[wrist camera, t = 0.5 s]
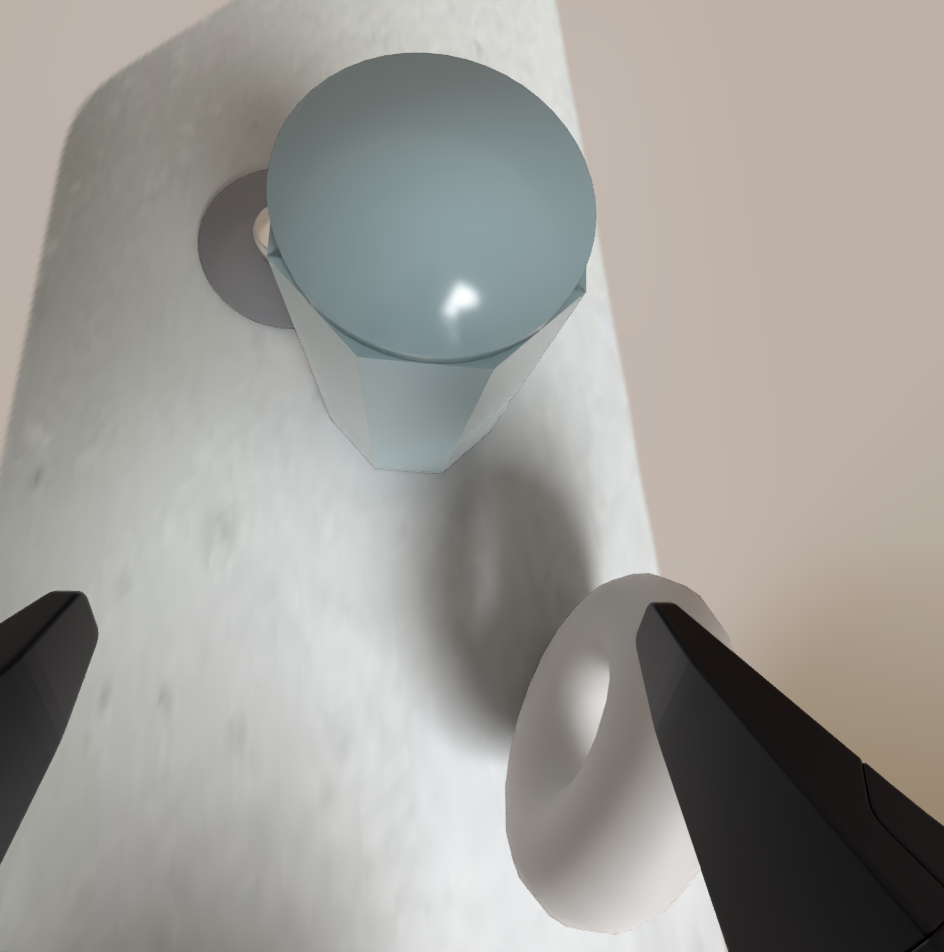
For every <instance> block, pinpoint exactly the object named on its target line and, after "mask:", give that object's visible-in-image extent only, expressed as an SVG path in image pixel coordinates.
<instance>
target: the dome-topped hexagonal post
mask: <svg viewBox="0 0 944 952" xmlns="http://www.w3.org/2000/svg"><path fill="white" fill-rule="evenodd" d="M266 196H267V205H268V214H269V218H270V231H269V239H268V248H267V259H268V262H269V264H270V267H271V269H272V272H273V274H274V277H275V279H276V282H277V284H278V287H279V289H280V292H281V294H282V297H283V299H284V302H285V305H286V307H287V310H288V312H289V315H290V317H291V320H292V322H293V325H294V327H295V330H296V332H297V335H298V337H299V340H300V343H301V345H302V348H303V350H304V353H305V355H306V358H307V360H308V363H309V365H310V368H311V370H312V373H313V375H314V378H315V381H316V383H317V386H318V388H319V391H320V393H321V396H322V398H323V401H324V403H325V406H326V408H327V411H328V413H329V416H330V418H331V420H332V421H333V423H334V424H335V425H336V426H337V427H338V428H339V429H340V430H341V431H342V433H343V434H344V435H345V436H346V437H347V438H348V439H349V440H350V442H351V443H352V444H353V445H354V446H355V447H356V448H357V449H358V450H359V452H360V453H361V454H362V455H363V456H364V457H365V458H366V459H367V461H368V462H369V463H370V464H371V465H372V466H373V467H374V468H375V469H381V470H396V471H411V472H426V473H441V474H442V473H443V472H444V471H445V470H446V469H448V468H449V467H450V466H451V465H452V464H453V463H454V462H456V461H457V460H458V459H459V458H460V457H461V456H462V455H464V454H465V453H466V452H467V451H468V450H469V449H470V448H472V447H473V446H474V445H475V444H476V443H477V442H478V441H480V440H481V439H482V438H483V437H484V436H485V435H486V434H488V433H489V432H490V430H491V429H492V427H493V426H494V425H495V423H496V422H497V420H498V419H499V417H500V416H501V414H502V413H503V412H504V410H505V409H506V407H507V406H508V404H509V403H510V401H511V400H512V398H513V397H514V396H515V394H516V393H517V391H518V390H519V388H520V387H521V385H522V384H523V383H524V381H525V380H526V378H527V377H528V375H529V374H530V372H531V371H532V369H533V368H534V367H535V365H536V364H537V362H538V361H539V359H540V358H541V356H542V355H543V354H544V352H545V351H546V349H547V348H548V346H549V345H550V343H551V342H552V340H553V339H554V338H555V336H556V335H557V333H558V332H559V330H560V329H561V327H562V326H563V325H564V323H565V322H566V320H567V319H568V317H569V316H570V314H571V313H572V311H573V310H574V309H575V307H576V306H577V304H578V303H579V301H580V300H581V298H582V297H583V296H584V294H585V293H586V265H587V262H588V260H589V257H590V254H591V251H592V246H593V242H594V237H595V228H596V203H595V195H594V189H593V184H592V179H591V176H590V173H589V170H588V167H587V164H586V162H585V159H584V157H583V155H582V153H581V151H580V149H579V147H578V145H577V143H576V141H575V140H574V138H573V137H572V135H571V134H570V132H569V131H568V129H567V128H566V126H565V125H564V124H563V123H562V121H561V120H560V119H559V118H558V117H557V115H556V114H555V113H554V112H553V111H552V110H551V109H550V108H549V107H548V106H547V105H546V104H545V103H544V102H543V101H542V100H541V99H540V98H539V97H537V96H536V95H535V94H533V93H532V92H531V91H529V90H528V89H527V88H525V87H524V86H523V85H521V84H520V83H518V82H516V81H515V80H513V79H511V78H510V77H508V76H506V75H505V74H502V73H500V72H498V71H496V70H494V69H492V68H489V67H487V66H485V65H482V64H479V63H476V62H473V61H470V60H467V59H462V58H458V57H453V56H449V55H442V54H432V53H401V54H393V55H385V56H381V57H377V58H373V59H369V60H365V61H362V62H360V63H357V64H355V65H352V66H350V67H347V68H345V69H343V70H341V71H340V72H338V73H336V74H334V75H332V76H330V77H329V78H327V79H326V80H325V81H323V82H322V83H321V84H319V85H318V86H316V87H315V88H314V89H313V90H312V91H311V92H309V93H308V94H307V95H306V96H305V97H304V98H303V99H302V100H301V101H300V102H299V103H298V105H297V106H296V107H295V109H294V110H293V111H292V113H291V114H290V115H289V117H288V118H287V120H286V121H285V123H284V125H283V127H282V129H281V131H280V132H279V134H278V136H277V139H276V142H275V145H274V147H273V150H272V153H271V157H270V162H269V167H268V172H267V190H266Z"/></svg>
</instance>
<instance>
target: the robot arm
mask: <svg viewBox="0 0 944 952" xmlns="http://www.w3.org/2000/svg"><path fill="white" fill-rule="evenodd" d="M97 641H98V627H97V624H96V621H95V618H94V615H93V612H92V609H91V607H90V604H89V601H88V598H87V596H86V595H85V594H84V593H83V592H80V591H53V592H50V593H48V594H46V595H44V596H43V597H41V598H40V599H38V600H37V601H35V602H33V603H32V604H30V605H29V606H27V607H25V608H24V609H22V610H21V611H19V612H17V613H16V614H14V615H13V616H11V617H10V618H8V619H6V620H5V621H3V622H2V623H0V864H1V862H2V860H3V858H4V856H5V854H6V852H7V850H8V848H9V846H10V844H11V842H12V840H13V838H14V836H15V834H16V832H17V830H18V828H19V826H20V824H21V822H22V820H23V818H24V816H25V814H26V812H27V810H28V808H29V806H30V803H31V801H32V799H33V797H34V795H35V793H36V791H37V789H38V787H39V785H40V783H41V781H42V779H43V777H44V775H45V773H46V771H47V769H48V767H49V765H50V763H51V761H52V759H53V757H54V755H55V752H56V750H57V748H58V746H59V744H60V742H61V739H62V737H63V734H64V732H65V729H66V727H67V724H68V722H69V719H70V716H71V713H72V711H73V708H74V705H75V702H76V700H77V697H78V694H79V691H80V689H81V686H82V683H83V680H84V678H85V675H86V672H87V669H88V667H89V664H90V661H91V658H92V656H93V653H94V650H95V647H96V644H97ZM636 650H637V654H638V659H639V663H640V668H641V672H642V677H643V681H644V686H645V690H646V695H647V699H648V704H649V709H650V713H651V718H652V722H653V726H654V730H655V733H656V737H657V740H658V743H659V746H660V749H661V752H662V755H663V758H664V761H665V764H666V767H667V770H668V773H669V776H670V779H671V782H672V785H673V788H674V791H675V794H676V797H677V800H678V803H679V806H680V809H681V812H682V815H683V818H684V821H685V824H686V827H687V830H688V833H689V836H690V839H691V842H692V845H693V848H694V851H695V854H696V857H697V860H698V862H699V865H700V868H701V871H702V874H703V877H704V880H705V883H706V886H707V889H708V892H709V895H710V898H711V901H712V904H713V907H714V910H715V913H716V916H717V919H718V922H719V925H720V928H721V931H722V934H723V937H724V940H725V943H726V946H727V949H728V952H944V826H943V825H942V824H940V823H939V822H938V821H937V820H935V819H934V818H933V817H931V816H930V815H929V814H927V813H926V812H925V811H924V810H923V809H921V808H920V807H919V806H918V805H916V804H915V803H914V802H912V801H911V800H910V799H909V798H908V797H906V796H905V795H904V794H903V793H902V792H900V791H899V790H898V789H897V788H895V787H894V786H893V785H892V784H890V783H889V782H888V781H887V780H886V779H884V778H883V777H882V776H881V775H880V774H878V773H877V772H876V771H875V770H874V769H873V768H871V767H870V766H869V765H868V764H866V763H862V761H861V759H860V758H859V757H858V756H857V755H856V754H854V753H853V752H852V751H851V750H849V749H848V748H847V747H846V746H845V745H844V744H842V743H841V742H840V741H839V740H838V739H837V738H835V737H834V736H833V735H832V734H831V733H829V732H828V731H827V730H826V729H825V728H823V727H822V726H821V725H820V724H819V723H817V722H816V721H815V720H814V719H813V718H811V717H810V716H809V715H808V714H807V713H805V712H804V711H803V710H802V709H801V708H800V707H798V706H797V705H796V704H795V703H794V702H792V701H791V700H790V699H789V698H788V697H786V696H785V695H784V694H783V693H782V692H780V691H779V690H778V689H777V688H776V687H774V686H773V685H772V684H771V683H770V682H769V681H767V680H766V679H765V678H764V677H763V676H761V675H760V674H759V673H758V672H757V671H755V670H754V669H753V668H752V667H750V666H749V665H748V664H747V663H746V662H745V661H743V660H742V659H741V658H740V657H739V656H738V655H736V654H735V653H734V652H733V651H732V650H730V649H729V648H728V647H727V646H726V645H724V644H723V643H722V642H721V641H720V640H718V639H717V638H716V637H715V636H714V635H712V634H711V633H710V632H709V631H708V630H707V629H705V628H704V627H703V626H702V625H701V624H699V623H698V622H697V621H696V620H695V619H693V618H692V617H691V616H690V615H689V614H687V613H686V612H685V611H684V610H683V609H681V608H680V607H679V606H678V605H676V604H675V603H672V602H651V603H650V604H649V605H648V606H647V608H646V610H645V613H644V615H643V618H642V621H641V623H640V626H639V628H638V631H637V634H636Z"/></svg>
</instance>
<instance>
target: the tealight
mask: <svg viewBox="0 0 944 952" xmlns="http://www.w3.org/2000/svg"><path fill="white" fill-rule="evenodd" d="M269 231H270V218H269V214H268V207H266V208H265V209H263V210H262V211H261V212H260V214H259V215H258V217H257V218H256V220H255V223H254V226H253V236H254V240H255V242H256V245H257V247H258V250H259V252H260V254H261V256H262V258H263V259H264V261H265V262H266V263H267V264H269V262H268V259H267V248H268V239H269ZM269 265H270V264H269Z"/></svg>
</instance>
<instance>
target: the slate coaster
mask: <svg viewBox="0 0 944 952" xmlns="http://www.w3.org/2000/svg"><path fill="white" fill-rule="evenodd" d="M267 172H268V169H267V170H262V171H258V172H255V173H252V174H249V175H247V176H244V177H242V178H240V179H238V180H237V181H235V182H234V183H232V184H230V185H229V186H228V187H227V188H225V189H224V190H223V191H222V192H221V193H220V194H219V195H218V196H217V197H216V198H215V199H214V201H213V202H212V203H211V205H210V207H209V208H208V210H207V212H206V214H205V216H204V218H203V221H202V224H201V227H200V233H199V255H200V261H201V264H202V267H203V270H204V273H205V275H206V277H207V279H208V281H209V282H210V284H211V285H212V287H213V288H214V290H215V291H216V293H217V294H218V295H219V296H220V297H221V299H222V300H223V301H224V302H225V303H226V304H228V305H229V306H230V307H231V308H232V309H233V310H235V311H236V312H238V313H239V314H241V315H243V316H245V317H247V318H249V319H251V320H253V321H255V322H258V323H261V324H264V325H268V326H273V327H280V328H295V327H294V325H293V322H292V320H291V317H290V315H289V312H288V310H287V307H286V305H285V302H284V299H283V297H282V294H281V292H280V289H279V287H278V284H277V282H276V279H275V277H274V274H273V272H272V269H271V267H270V265H269V264H267V263H266V262H265V261H264V259H263V258H262V256H261V254H260V252H259V250H258V247H257V245H256V242H255V240H254V236H253V226H254V223H255V220H256V218H257V217H258V215H259V214H260V212H261V211H262V210H263V209H265V208H266V207H268V205H267V196H266V190H267Z"/></svg>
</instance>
